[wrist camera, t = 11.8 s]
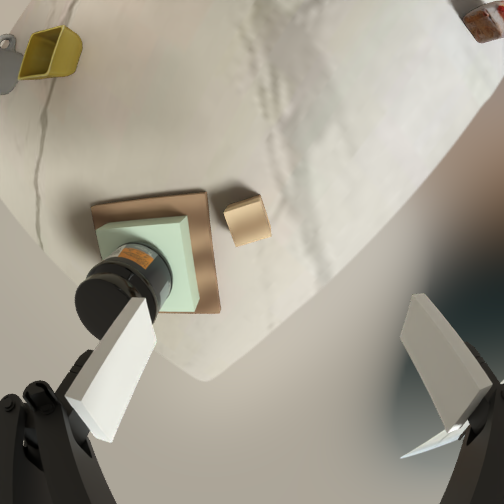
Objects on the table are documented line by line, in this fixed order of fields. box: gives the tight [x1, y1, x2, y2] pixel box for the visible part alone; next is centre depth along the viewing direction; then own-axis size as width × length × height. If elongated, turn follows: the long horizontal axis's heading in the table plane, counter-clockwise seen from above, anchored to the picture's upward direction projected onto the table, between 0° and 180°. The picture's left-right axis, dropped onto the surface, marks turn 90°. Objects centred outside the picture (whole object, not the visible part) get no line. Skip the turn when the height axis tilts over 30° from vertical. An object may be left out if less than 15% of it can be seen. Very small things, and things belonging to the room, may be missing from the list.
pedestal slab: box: [95, 215, 200, 312], centre depth 41 cm, size 14×14×4 cm
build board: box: [91, 192, 221, 314], centre depth 44 cm, size 20×20×2 cm
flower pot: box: [18, 25, 82, 80], centre depth 27 cm, size 9×9×9 cm
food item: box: [462, 0, 504, 43], centre depth 19 cm, size 14×8×10 cm, turn 132°
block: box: [224, 195, 271, 247], centre depth 39 cm, size 5×5×5 cm
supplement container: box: [75, 241, 173, 341], centre depth 34 cm, size 10×10×12 cm
